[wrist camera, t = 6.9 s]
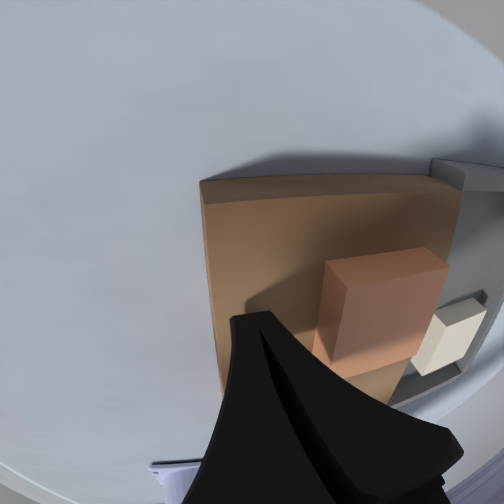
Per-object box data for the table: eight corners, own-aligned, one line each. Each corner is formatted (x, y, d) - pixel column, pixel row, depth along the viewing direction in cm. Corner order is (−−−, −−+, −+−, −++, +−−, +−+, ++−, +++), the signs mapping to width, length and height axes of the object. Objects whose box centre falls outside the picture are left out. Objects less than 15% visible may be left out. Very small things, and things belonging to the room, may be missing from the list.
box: (450, 359, 21) (463, 375, 19) (367, 393, 20) (379, 415, 18) (516, 170, 13) (541, 181, 12) (432, 158, 12) (465, 172, 10)
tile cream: (421, 376, 17) (410, 360, 18) (463, 356, 18) (451, 344, 19) (446, 327, 15) (431, 311, 16) (487, 310, 16) (473, 297, 17)
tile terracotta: (398, 332, 13) (416, 354, 12) (311, 355, 12) (325, 383, 11) (425, 246, 11) (450, 267, 9) (325, 260, 10) (347, 287, 9)
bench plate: (362, 395, 20) (377, 420, 18) (227, 427, 18) (234, 459, 16) (425, 175, 12) (463, 192, 10) (199, 181, 10) (203, 204, 8)
